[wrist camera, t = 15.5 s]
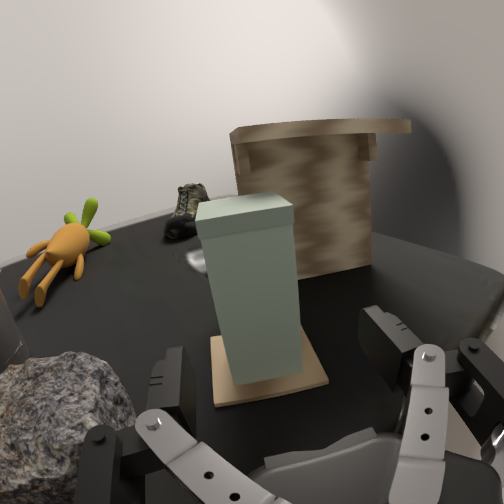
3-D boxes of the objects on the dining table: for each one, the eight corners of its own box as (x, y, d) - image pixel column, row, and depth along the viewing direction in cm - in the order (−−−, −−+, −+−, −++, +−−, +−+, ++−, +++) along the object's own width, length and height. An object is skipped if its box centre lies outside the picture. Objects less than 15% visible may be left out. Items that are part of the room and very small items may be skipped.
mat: (215, 407, 18) (214, 403, 18) (211, 340, 26) (210, 337, 26) (328, 383, 19) (328, 380, 19) (298, 323, 26) (298, 320, 26)
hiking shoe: (155, 244, 56) (145, 198, 53) (186, 215, 76) (179, 180, 73) (196, 240, 55) (187, 191, 52) (217, 212, 75) (212, 175, 72)
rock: (132, 381, 22) (0, 421, 16) (100, 317, 19) (-39, 366, 13) (178, 507, 11) (-8, 532, 5) (121, 449, 9) (-78, 476, 3)
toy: (63, 346, 39) (105, 258, 66) (73, 280, 34) (122, 206, 61) (2, 316, 35) (61, 239, 61) (1, 246, 30) (74, 186, 56)
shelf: (266, 330, 26) (238, 127, 20) (251, 284, 35) (229, 133, 29) (408, 295, 27) (410, 119, 21) (367, 261, 36) (360, 123, 30)
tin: (232, 386, 20) (195, 220, 15) (227, 343, 24) (198, 202, 20) (304, 372, 20) (293, 204, 16) (288, 332, 25) (273, 190, 20)
